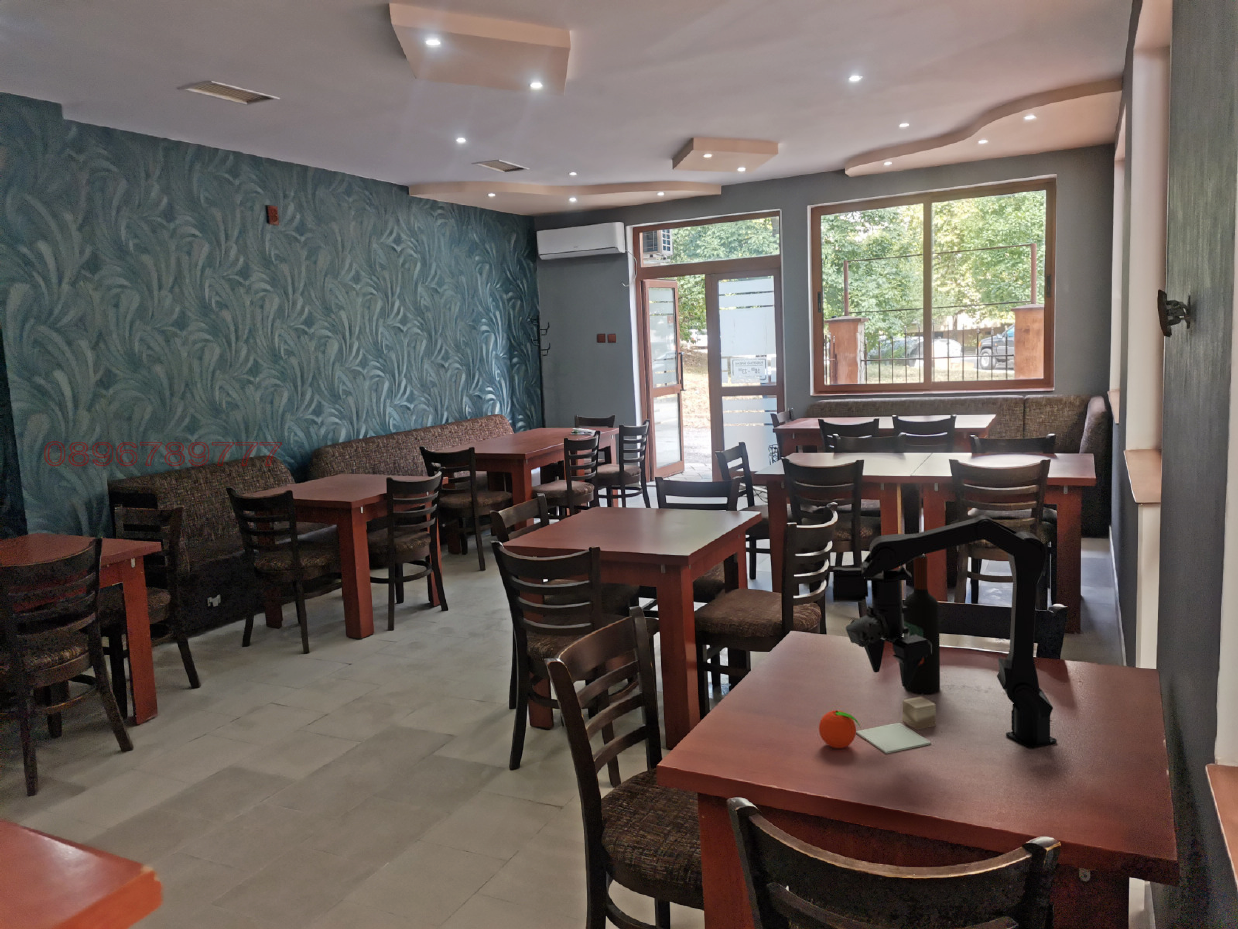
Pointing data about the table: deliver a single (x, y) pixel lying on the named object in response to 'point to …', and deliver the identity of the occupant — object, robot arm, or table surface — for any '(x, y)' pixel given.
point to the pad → (893, 738)
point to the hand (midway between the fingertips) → (890, 679)
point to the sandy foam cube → (919, 712)
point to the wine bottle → (923, 630)
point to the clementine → (837, 729)
